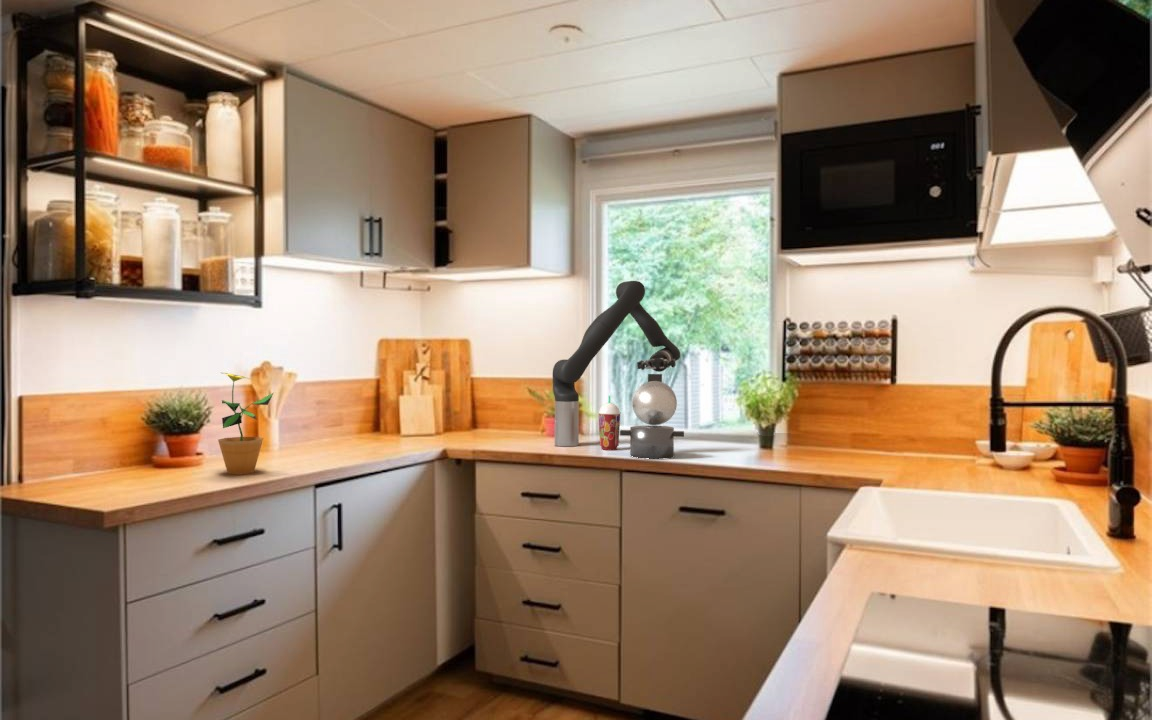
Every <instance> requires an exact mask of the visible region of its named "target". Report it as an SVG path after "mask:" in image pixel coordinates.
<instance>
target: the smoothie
mask: <svg viewBox="0 0 1152 720" xmlns="http://www.w3.org/2000/svg"><path fill="white" fill-rule="evenodd" d="M597 413H598V414H597V416H598V431H599V446H600V448H601V450H602V449H603V451H617V450H618V447H619V443H620V441H619V440H620V425H621V414H622V413H621V412H620V409H619V407H618V406H617V405H616V404H614V403H613V402H611V395H608V403H604V404H603V405H602V406H601V407H600V408H599V411H598V412H597Z"/></svg>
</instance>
